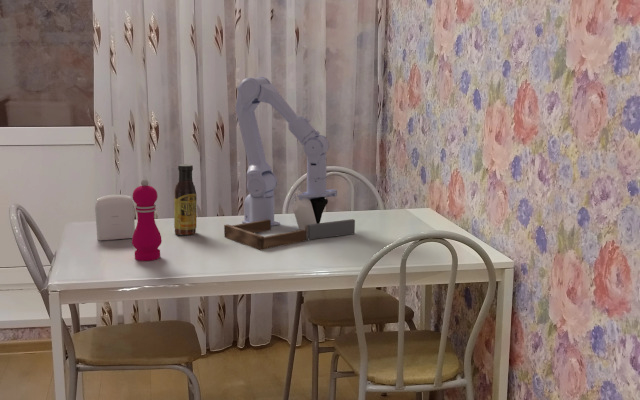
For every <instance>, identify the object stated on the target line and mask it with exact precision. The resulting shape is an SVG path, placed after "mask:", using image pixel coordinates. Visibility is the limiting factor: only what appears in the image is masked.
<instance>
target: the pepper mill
mask: <svg viewBox="0 0 640 400" xmlns="http://www.w3.org/2000/svg"><path fill="white" fill-rule="evenodd" d="M157 200H158V192H157V190H156V188H155V187H153V186H150V185H149V181H148V180H147V179H146V178H145V179H141V182H140V185H139V186H137V187H136V188H135V189H134V190H133V192H132V201H133V203H135V204H136V205H134V207H135V209H134V212H136V214H137V222H136V226H135V227H136V228H135V231H134V234H133V237H132V238H131V243H132V244H131V245H132V246H133V247H134V249H135V251H134V259H135V260H136V261H141V262H150V261H155V260H159V259H160V258H161V249H159V247H160V246H161V244H162V242H163V240H162V234H161V232H160V230H159V228H158V226H157V223H156V220H155V212H156V210H157V208H156V206H157V205H156V204H155V203H156V202H157Z"/></svg>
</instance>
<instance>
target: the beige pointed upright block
mask: <svg viewBox="0 0 640 400" xmlns="http://www.w3.org/2000/svg"><path fill="white" fill-rule="evenodd" d="M302 193H303V192H302V191H301V190H296V191H295V193H294V196H295V195H296V201H295V200H294V202H293V207H292V210H293V214H294V217H295V220H296V223H297V226H298V230H305V225H309V224H317V222H316V219H315V215H314V211H313V207H312V204H311V201H310V200H309V199H308V198H302V201H301V200H299V198H298V196H297V195H301V194H302Z"/></svg>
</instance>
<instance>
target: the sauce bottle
mask: <svg viewBox="0 0 640 400" xmlns="http://www.w3.org/2000/svg"><path fill="white" fill-rule="evenodd" d="M177 169H178V182H177V184H176V185H175V188H174V203H173V204H174V205H173V206H174V208H173V209H174V215H173V217H174V218H173V219H174V220H173V221H174V224H173V225H174V227H173V228H174V234H175V235H178V236H191V235H194V234H196V232H197V201H198V200H197V190H196V186H195V185H194V182H193V170H194V166H193V164H184V163H183V164H178V166H177Z"/></svg>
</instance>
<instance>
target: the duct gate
mask: <svg viewBox="0 0 640 400" xmlns="http://www.w3.org/2000/svg"><path fill="white" fill-rule="evenodd" d="M355 231H356V220H355V219H353V218H352V219H343V220H335V221H327V222H320V223H317V224H309V225H308V240H317V239H322V238H323V239H324V238H331V237H337V236H344V235H346V236H347V235H354V234H356V233H355Z"/></svg>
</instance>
